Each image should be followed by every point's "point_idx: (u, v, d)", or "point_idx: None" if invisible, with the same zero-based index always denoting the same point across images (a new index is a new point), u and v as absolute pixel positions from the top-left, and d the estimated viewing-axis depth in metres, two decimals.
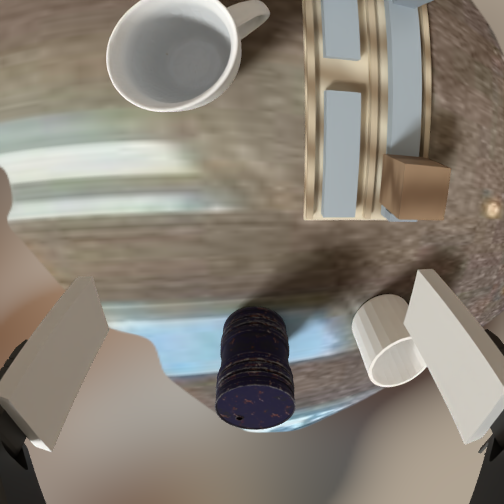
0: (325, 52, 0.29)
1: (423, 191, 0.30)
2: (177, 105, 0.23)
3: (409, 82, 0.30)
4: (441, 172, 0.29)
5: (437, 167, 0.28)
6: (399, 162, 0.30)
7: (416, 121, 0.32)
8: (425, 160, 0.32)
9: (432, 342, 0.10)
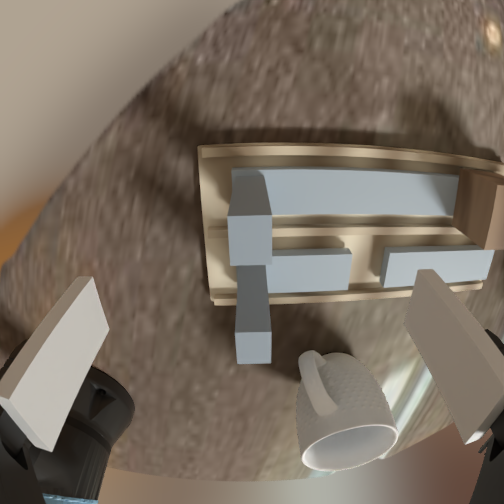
0: None
1: None
2: (393, 438, 0.28)
3: (378, 191, 0.27)
4: (499, 199, 0.20)
5: (494, 205, 0.21)
6: (477, 243, 0.24)
7: (423, 181, 0.26)
8: (472, 188, 0.24)
9: (432, 342, 0.10)
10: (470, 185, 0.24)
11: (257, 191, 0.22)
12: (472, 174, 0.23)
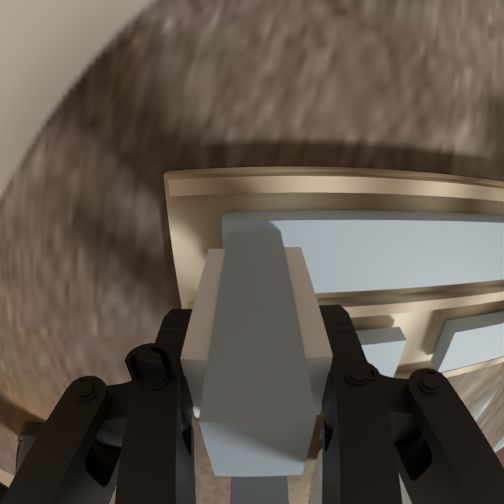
0: None
1: None
2: None
3: (457, 251, 0.15)
4: None
5: None
6: None
7: None
8: None
9: None
10: None
11: (272, 291, 0.10)
12: None
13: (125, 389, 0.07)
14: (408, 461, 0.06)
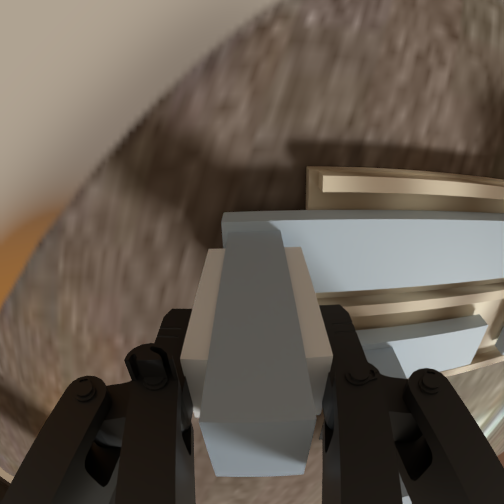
0: None
1: None
2: None
3: (458, 250, 0.15)
4: None
5: None
6: None
7: None
8: None
9: None
10: None
11: (272, 291, 0.10)
12: None
13: (125, 389, 0.07)
14: (408, 461, 0.06)
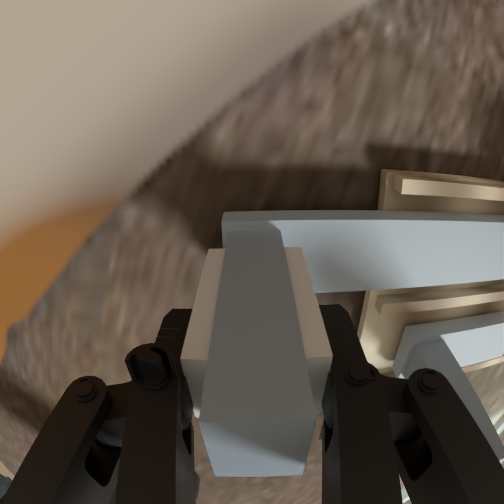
0: None
1: None
2: None
3: (457, 251, 0.15)
4: None
5: None
6: None
7: None
8: None
9: None
10: None
11: (272, 291, 0.10)
12: None
13: (125, 389, 0.07)
14: (408, 461, 0.06)
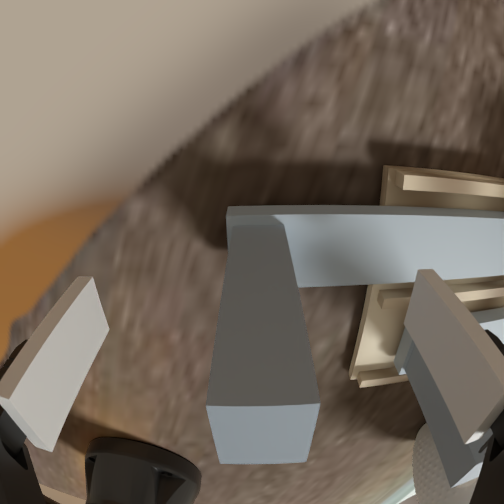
0: None
1: None
2: None
3: (458, 246, 0.15)
4: None
5: None
6: None
7: None
8: None
9: (432, 342, 0.10)
10: None
11: (276, 282, 0.10)
12: None
13: None
14: None
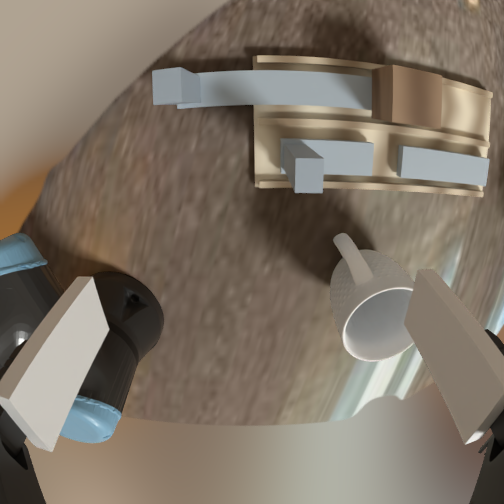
0: None
1: (416, 100, 0.26)
2: None
3: (294, 86, 0.31)
4: (398, 77, 0.25)
5: (393, 82, 0.25)
6: None
7: (335, 78, 0.31)
8: (379, 79, 0.28)
9: (432, 342, 0.10)
10: (378, 77, 0.29)
11: None
12: (378, 68, 0.28)
13: None
14: None
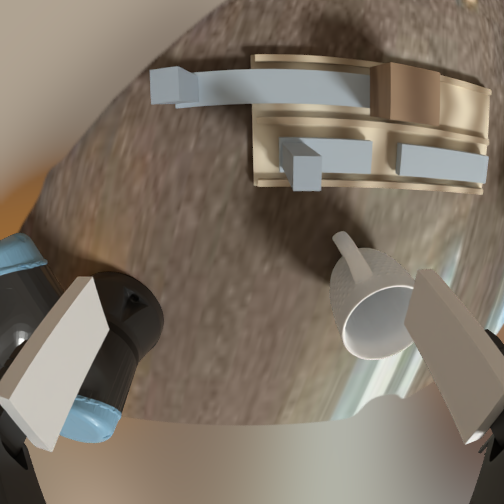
0: None
1: (414, 97, 0.26)
2: None
3: (292, 84, 0.31)
4: (395, 74, 0.25)
5: (391, 79, 0.25)
6: (386, 118, 0.28)
7: (333, 77, 0.31)
8: (377, 77, 0.28)
9: (432, 342, 0.10)
10: (376, 75, 0.29)
11: None
12: (376, 66, 0.28)
13: None
14: None
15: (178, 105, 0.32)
